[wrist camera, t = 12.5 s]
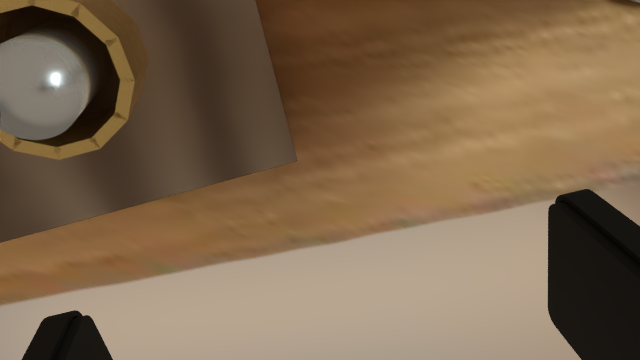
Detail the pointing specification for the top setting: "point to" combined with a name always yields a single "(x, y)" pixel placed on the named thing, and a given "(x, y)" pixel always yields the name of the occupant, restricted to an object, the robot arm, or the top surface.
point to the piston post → (50, 78)
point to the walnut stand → (161, 119)
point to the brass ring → (129, 60)
